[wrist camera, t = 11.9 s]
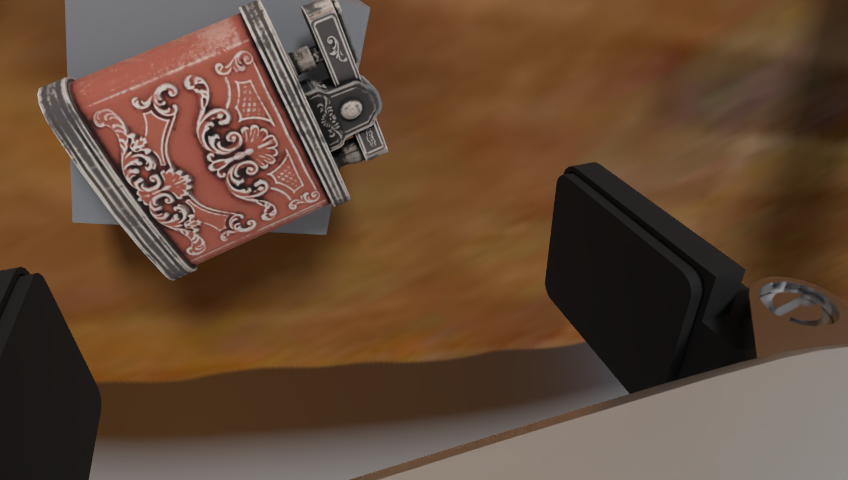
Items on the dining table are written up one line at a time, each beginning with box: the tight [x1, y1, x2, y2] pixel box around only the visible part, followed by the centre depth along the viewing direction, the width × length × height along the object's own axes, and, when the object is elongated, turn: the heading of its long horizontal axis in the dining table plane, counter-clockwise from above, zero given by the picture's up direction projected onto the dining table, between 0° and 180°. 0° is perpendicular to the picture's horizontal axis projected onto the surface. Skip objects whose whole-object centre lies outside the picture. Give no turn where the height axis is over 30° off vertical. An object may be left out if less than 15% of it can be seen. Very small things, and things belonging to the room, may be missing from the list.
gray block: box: [65, 0, 370, 235], centre depth 24 cm, size 10×10×6 cm
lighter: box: [37, 0, 388, 281], centre depth 21 cm, size 8×3×10 cm
